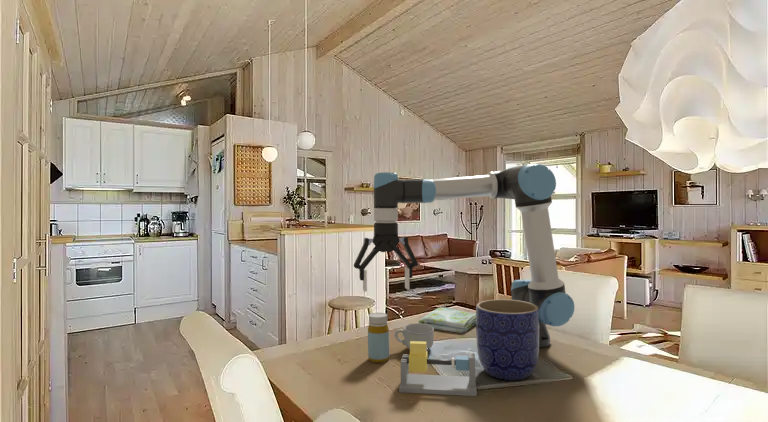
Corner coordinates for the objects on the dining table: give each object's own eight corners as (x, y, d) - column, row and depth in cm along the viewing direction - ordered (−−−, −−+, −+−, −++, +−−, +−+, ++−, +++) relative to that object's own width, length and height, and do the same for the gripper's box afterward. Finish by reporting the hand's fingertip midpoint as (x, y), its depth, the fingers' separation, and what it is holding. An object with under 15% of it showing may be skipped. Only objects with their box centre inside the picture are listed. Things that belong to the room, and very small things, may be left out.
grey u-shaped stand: (475, 381, 127) (474, 349, 127) (476, 396, 117) (476, 362, 117) (403, 377, 130) (403, 347, 130) (399, 392, 120) (398, 359, 120)
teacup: (434, 344, 160) (433, 323, 159) (434, 355, 149) (434, 332, 149) (396, 344, 161) (395, 322, 161) (394, 354, 150) (393, 331, 150)
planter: (496, 357, 145) (496, 296, 145) (550, 372, 132) (549, 305, 132) (464, 373, 132) (463, 306, 132) (520, 392, 119) (519, 317, 119)
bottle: (367, 356, 149) (367, 312, 149) (388, 355, 150) (387, 311, 149) (368, 363, 142) (368, 318, 142) (390, 362, 143) (389, 317, 142)
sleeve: (427, 366, 126) (427, 340, 126) (426, 372, 122) (426, 345, 122) (410, 365, 127) (410, 339, 127) (409, 371, 123) (408, 344, 123)
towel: (465, 334, 172) (464, 322, 172) (417, 327, 184) (417, 315, 183) (481, 323, 187) (481, 311, 187) (436, 317, 199) (436, 306, 199)
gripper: (420, 221, 142) (420, 285, 143) (344, 222, 137) (345, 289, 137) (427, 221, 135) (427, 290, 135) (347, 223, 130) (348, 294, 130)
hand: (386, 289), depth 136 cm, fingers open, 13 cm apart
